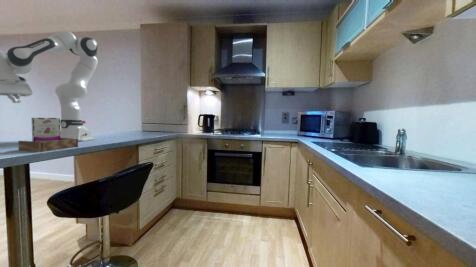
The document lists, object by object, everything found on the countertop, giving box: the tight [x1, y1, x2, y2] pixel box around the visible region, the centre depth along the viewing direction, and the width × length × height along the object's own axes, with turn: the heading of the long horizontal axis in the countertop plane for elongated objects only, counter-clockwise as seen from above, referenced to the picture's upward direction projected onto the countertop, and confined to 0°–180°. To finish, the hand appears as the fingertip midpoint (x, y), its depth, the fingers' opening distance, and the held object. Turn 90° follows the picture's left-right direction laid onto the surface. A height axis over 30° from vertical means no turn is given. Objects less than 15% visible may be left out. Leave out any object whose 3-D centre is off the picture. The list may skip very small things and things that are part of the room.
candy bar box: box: [31, 117, 61, 142], centre depth 123 cm, size 11×5×16 cm, turn 139°
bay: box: [18, 138, 79, 152], centre depth 126 cm, size 21×13×4 cm, turn 170°
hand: (17, 102), depth 131 cm, fingers closed
